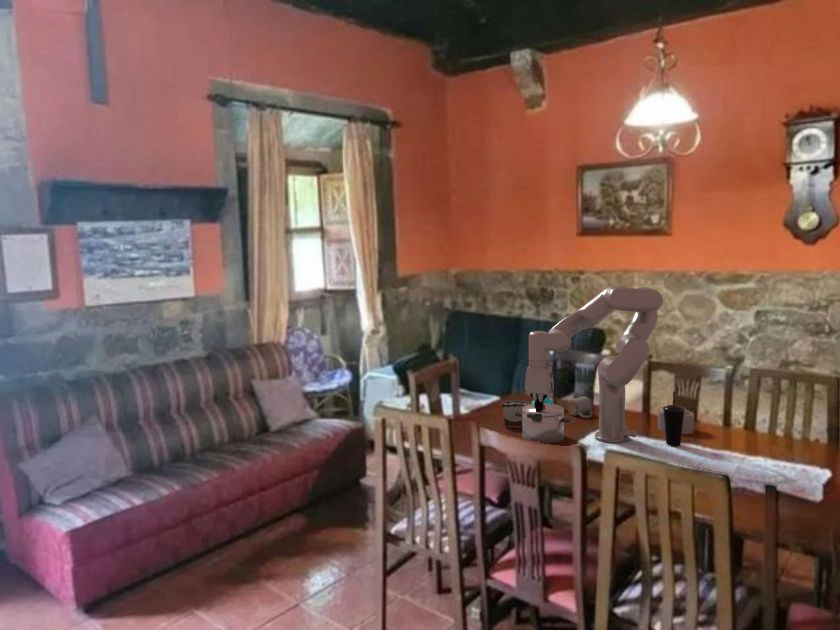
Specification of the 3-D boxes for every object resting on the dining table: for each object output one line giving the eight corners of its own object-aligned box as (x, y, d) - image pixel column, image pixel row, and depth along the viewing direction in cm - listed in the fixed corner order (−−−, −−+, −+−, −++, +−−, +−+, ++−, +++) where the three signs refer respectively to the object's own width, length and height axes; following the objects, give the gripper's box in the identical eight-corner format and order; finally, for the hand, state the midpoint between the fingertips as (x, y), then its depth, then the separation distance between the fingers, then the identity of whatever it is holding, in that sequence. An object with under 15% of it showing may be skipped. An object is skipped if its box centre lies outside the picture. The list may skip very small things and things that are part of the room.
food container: (530, 422, 277) (529, 399, 276) (531, 427, 271) (530, 403, 270) (500, 422, 278) (500, 399, 277) (500, 427, 272) (500, 403, 271)
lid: (569, 408, 258) (569, 402, 258) (553, 421, 243) (553, 413, 243) (530, 404, 267) (530, 398, 266) (513, 416, 251) (513, 409, 251)
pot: (577, 435, 258) (577, 410, 257) (563, 446, 245) (563, 420, 243) (524, 428, 269) (524, 404, 268) (508, 438, 256) (508, 413, 255)
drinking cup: (670, 448, 239) (671, 394, 237) (658, 442, 246) (658, 390, 244) (689, 446, 241) (690, 392, 239) (675, 440, 248) (676, 388, 246)
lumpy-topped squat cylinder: (669, 424, 270) (669, 403, 269) (699, 430, 260) (699, 409, 259) (654, 429, 264) (654, 407, 262) (684, 436, 253) (685, 414, 252)
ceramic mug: (565, 414, 289) (565, 397, 288) (580, 411, 292) (580, 394, 291) (582, 420, 279) (582, 402, 278) (596, 417, 283) (597, 399, 282)
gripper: (561, 363, 250) (561, 410, 252) (524, 360, 257) (524, 406, 259) (554, 367, 243) (554, 415, 245) (516, 364, 251) (517, 411, 253)
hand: (539, 410), depth 252 cm, fingers closed
